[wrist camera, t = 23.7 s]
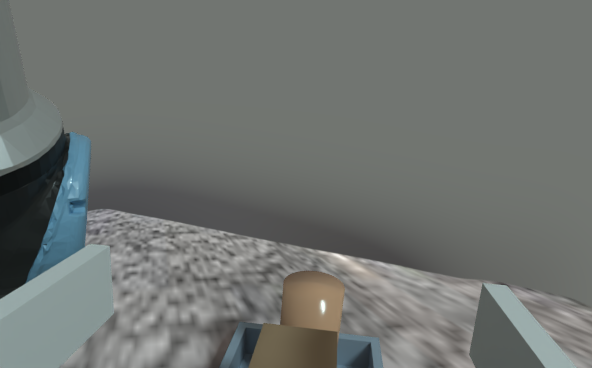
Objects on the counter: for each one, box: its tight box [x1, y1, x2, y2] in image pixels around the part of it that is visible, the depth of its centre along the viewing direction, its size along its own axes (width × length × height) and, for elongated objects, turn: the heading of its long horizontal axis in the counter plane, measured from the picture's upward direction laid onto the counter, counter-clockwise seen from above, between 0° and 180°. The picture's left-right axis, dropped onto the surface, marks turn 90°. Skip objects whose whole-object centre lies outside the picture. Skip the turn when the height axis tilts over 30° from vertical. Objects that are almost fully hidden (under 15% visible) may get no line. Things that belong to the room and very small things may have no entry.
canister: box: [280, 271, 345, 347], centre depth 33 cm, size 5×5×10 cm
